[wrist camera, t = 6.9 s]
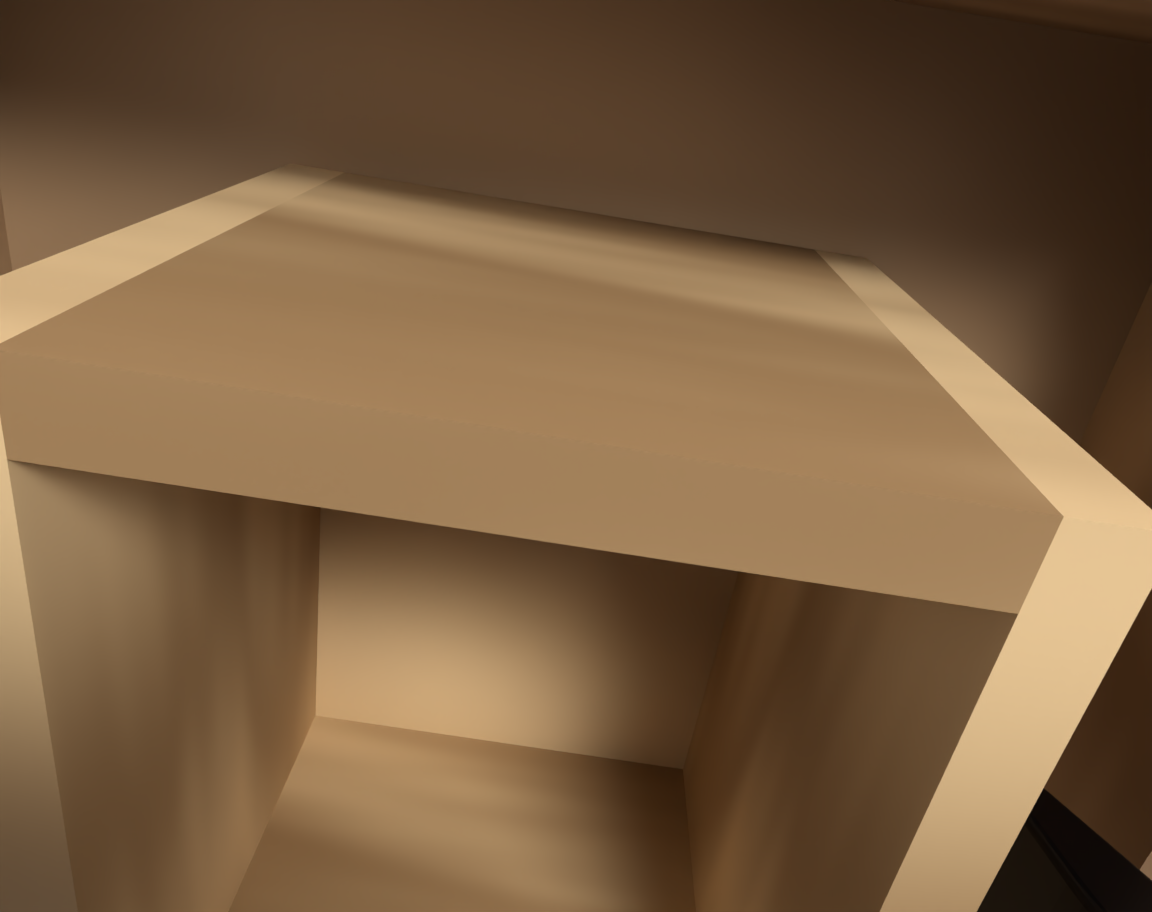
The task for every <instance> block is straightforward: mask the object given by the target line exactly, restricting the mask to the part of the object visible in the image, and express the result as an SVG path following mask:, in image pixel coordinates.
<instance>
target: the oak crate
mask: <svg viewBox="0 0 1152 912" xmlns="http://www.w3.org/2000/svg"><path fill="white" fill-rule="evenodd" d="M1151 589H1152V509H1151V508H1149V507H1148V506H1147V505H1146V504H1145V503H1144V502H1143V501H1142V500H1140V499H1139V498H1138V497H1137V496H1136V495H1135V494H1134V493H1132V492H1131V491H1130V490H1129V489H1128V488H1127V487H1126V486H1125V485H1123V484H1122V483H1121V482H1120V481H1119V480H1118V479H1117V478H1115V477H1114V476H1113V475H1112V474H1111V473H1110V472H1109V471H1108V470H1106V469H1105V468H1104V467H1103V466H1102V465H1101V464H1100V463H1098V462H1097V461H1096V460H1095V459H1094V458H1093V457H1092V456H1091V455H1089V454H1088V453H1087V452H1086V451H1085V450H1084V449H1083V448H1081V447H1080V446H1079V445H1078V444H1077V443H1076V442H1075V441H1074V440H1072V439H1071V438H1070V437H1069V436H1068V435H1067V434H1066V433H1064V432H1063V431H1062V430H1061V429H1060V428H1059V427H1058V426H1057V425H1055V424H1054V423H1053V422H1052V421H1051V420H1050V419H1049V418H1047V417H1046V416H1045V415H1044V414H1043V413H1042V412H1041V411H1040V410H1038V409H1037V408H1036V407H1035V406H1034V405H1033V404H1032V403H1030V402H1029V401H1028V400H1027V399H1026V398H1025V397H1024V396H1022V395H1021V394H1020V393H1019V392H1018V391H1017V390H1016V389H1015V388H1013V387H1012V386H1011V385H1010V384H1009V383H1008V382H1007V381H1005V380H1004V379H1003V378H1002V377H1001V376H1000V375H999V374H998V373H996V372H995V371H994V370H993V369H992V368H991V367H990V366H988V365H987V364H986V363H985V362H984V361H983V360H982V359H981V358H979V357H978V356H977V355H976V354H975V353H974V352H973V351H971V350H970V349H969V348H968V347H967V346H966V345H965V344H964V343H962V342H961V341H960V340H959V339H958V338H957V337H956V336H954V335H953V334H952V333H951V332H950V331H949V330H948V329H947V328H945V327H944V326H943V325H942V324H941V323H940V322H939V321H937V320H936V319H935V318H934V317H933V316H932V315H931V314H930V313H928V312H927V311H926V310H925V309H924V308H923V307H922V306H920V305H919V304H918V303H917V302H916V301H915V300H914V299H913V298H911V297H910V296H909V295H908V294H907V293H906V292H905V291H903V290H902V289H901V288H900V287H899V286H898V285H897V284H896V283H894V282H893V281H892V280H891V279H890V278H889V277H888V276H886V275H885V274H884V273H883V272H882V271H881V270H880V269H879V268H877V267H876V266H875V265H874V264H873V263H872V262H871V261H869V260H868V259H867V258H863V257H857V256H851V255H845V254H839V253H833V252H827V251H821V250H815V249H809V248H802V247H796V246H790V245H784V244H778V243H772V242H766V241H760V240H754V239H748V238H741V237H735V236H729V235H723V234H717V233H711V232H705V231H699V230H693V229H687V228H681V227H674V226H668V225H662V224H656V223H650V222H644V221H638V220H632V219H626V218H620V217H613V216H607V215H601V214H595V213H589V212H583V211H577V210H571V209H565V208H559V207H553V206H546V205H540V204H534V203H528V202H522V201H516V200H510V199H504V198H498V197H492V196H485V195H479V194H473V193H467V192H461V191H455V190H449V189H443V188H437V187H431V186H425V185H418V184H412V183H406V182H400V181H394V180H388V179H382V178H376V177H370V176H364V175H357V174H351V173H345V172H339V171H333V170H327V169H321V168H315V167H309V166H303V165H297V164H288V165H286V166H283V167H280V168H278V169H275V170H273V171H270V172H267V173H265V174H262V175H260V176H257V177H255V178H252V179H249V180H247V181H244V182H242V183H239V184H236V185H234V186H231V187H229V188H226V189H224V190H221V191H218V192H216V193H213V194H211V195H208V196H205V197H203V198H200V199H198V200H195V201H192V202H190V203H187V204H185V205H182V206H180V207H177V208H174V209H172V210H169V211H167V212H164V213H161V214H159V215H156V216H154V217H151V218H149V219H146V220H143V221H141V222H138V223H136V224H133V225H130V226H128V227H125V228H123V229H120V230H117V231H115V232H112V233H110V234H107V235H105V236H102V237H99V238H97V239H94V240H92V241H89V242H86V243H84V244H81V245H79V246H76V247H74V248H71V249H68V250H66V251H63V252H61V253H58V254H55V255H53V256H50V257H48V258H45V259H43V260H40V261H37V262H35V263H32V264H30V265H27V266H24V267H22V268H19V269H17V270H14V271H11V272H9V273H6V274H4V275H1V276H0V912H977V910H978V908H979V906H980V904H981V903H982V901H983V899H984V897H985V895H986V893H987V892H988V890H989V888H990V886H991V884H992V882H993V880H994V879H995V877H996V875H997V873H998V871H999V869H1000V868H1001V866H1002V864H1003V862H1004V860H1005V858H1006V856H1007V855H1008V853H1009V851H1010V849H1011V847H1012V845H1013V844H1014V842H1015V840H1016V838H1017V836H1018V834H1019V832H1020V831H1021V829H1022V827H1023V825H1024V823H1025V821H1026V820H1027V818H1028V816H1029V814H1030V812H1031V810H1032V808H1033V807H1034V805H1035V803H1036V801H1037V799H1038V797H1039V796H1040V794H1041V792H1042V790H1043V788H1044V786H1045V784H1046V783H1047V781H1048V779H1049V777H1050V775H1051V773H1052V772H1053V770H1054V768H1055V766H1056V764H1057V762H1058V760H1059V759H1060V757H1061V755H1062V753H1063V751H1064V749H1065V748H1066V746H1067V744H1068V742H1069V740H1070V738H1071V736H1072V735H1073V733H1074V731H1075V729H1076V727H1077V725H1078V724H1079V722H1080V720H1081V718H1082V716H1083V714H1084V712H1085V711H1086V709H1087V707H1088V705H1089V703H1090V701H1091V700H1092V698H1093V696H1094V694H1095V692H1096V690H1097V688H1098V687H1099V685H1100V683H1101V681H1102V679H1103V677H1104V676H1105V674H1106V672H1107V670H1108V668H1109V666H1110V664H1111V663H1112V661H1113V659H1114V657H1115V655H1116V653H1117V652H1118V650H1119V648H1120V646H1121V644H1122V642H1123V640H1124V639H1125V637H1126V635H1127V633H1128V631H1129V629H1130V628H1131V626H1132V624H1133V622H1134V620H1135V618H1136V616H1137V615H1138V613H1139V611H1140V609H1141V607H1142V605H1143V604H1144V602H1145V600H1146V598H1147V596H1148V594H1149V592H1150V591H1151Z"/></svg>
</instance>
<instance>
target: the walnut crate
mask: <svg viewBox="0 0 1152 912" xmlns="http://www.w3.org/2000/svg"><path fill="white" fill-rule="evenodd" d="M288 164H297V165H303V166H309V167H315V168H321V169H327V170H333V171H339V172H345V173H351V174H357V175H364V176H370V177H376V178H382V179H388V180H394V181H400V182H406V183H412V184H418V185H425V186H431V187H437V188H443V189H449V190H455V191H461V192H467V193H473V194H479V195H485V196H492V197H498V198H504V199H510V200H516V201H522V202H528V203H534V204H540V205H546V206H553V207H559V208H565V209H571V210H577V211H583V212H589V213H595V214H601V215H607V216H613V217H620V218H626V219H632V220H638V221H644V222H650V223H656V224H662V225H668V226H674V227H681V228H687V229H693V230H699V231H705V232H711V233H717V234H723V235H729V236H735V237H741V238H748V239H754V240H760V241H766V242H772V243H778V244H784V245H790V246H796V247H802V248H809V249H815V250H821V251H827V252H833V253H839V254H845V255H851V256H857V257H863V258H867V259H868V260H869V261H871V262H872V263H873V264H874V265H875V266H876V267H877V268H879V269H880V270H881V271H882V272H883V273H884V274H885V275H886V276H888V277H889V278H890V279H891V280H892V281H893V282H894V283H896V284H897V285H898V286H899V287H900V288H901V289H902V290H903V291H905V292H906V293H907V294H908V295H909V296H910V297H911V298H913V299H914V300H915V301H916V302H917V303H918V304H919V305H920V306H922V307H923V308H924V309H925V310H926V311H927V312H928V313H930V314H931V315H932V316H933V317H934V318H935V319H936V320H937V321H939V322H940V323H941V324H942V325H943V326H944V327H945V328H947V329H948V330H949V331H950V332H951V333H952V334H953V335H954V336H956V337H957V338H958V339H959V340H960V341H961V342H962V343H964V344H965V345H966V346H967V347H968V348H969V349H970V350H971V351H973V352H974V353H975V354H976V355H977V356H978V357H979V358H981V359H982V360H983V361H984V362H985V363H986V364H987V365H988V366H990V367H991V368H992V369H993V370H994V371H995V372H996V373H998V374H999V375H1000V376H1001V377H1002V378H1003V379H1004V380H1005V381H1007V382H1008V383H1009V384H1010V385H1011V386H1012V387H1013V388H1015V389H1016V390H1017V391H1018V392H1019V393H1020V394H1021V395H1022V396H1024V397H1025V398H1026V399H1027V400H1028V401H1029V402H1030V403H1032V404H1033V405H1034V406H1035V407H1036V408H1037V409H1038V410H1040V411H1041V412H1042V413H1043V414H1044V415H1045V416H1046V417H1047V418H1049V419H1050V420H1051V421H1052V422H1053V423H1054V424H1055V425H1057V426H1058V427H1059V428H1060V429H1061V430H1062V431H1063V432H1064V433H1066V434H1067V435H1068V436H1069V437H1070V438H1071V439H1072V440H1074V441H1075V442H1076V443H1077V444H1078V445H1079V446H1080V447H1081V448H1083V449H1084V450H1085V451H1086V452H1087V453H1088V454H1089V455H1091V456H1092V457H1093V458H1094V459H1095V460H1096V461H1097V462H1098V463H1100V464H1101V465H1102V466H1103V467H1104V468H1105V469H1106V470H1108V471H1109V472H1110V473H1111V474H1112V475H1113V476H1114V477H1115V478H1117V479H1118V480H1119V481H1120V482H1121V483H1122V484H1123V485H1125V486H1126V487H1127V488H1128V489H1129V490H1130V491H1131V492H1132V493H1134V494H1135V495H1136V496H1137V497H1138V498H1139V499H1140V500H1142V501H1143V502H1144V503H1145V504H1146V505H1147V506H1148V507H1149V508H1151V509H1152V0H0V276H1V275H4V274H6V273H9V272H11V271H14V270H17V269H19V268H22V267H24V266H27V265H30V264H32V263H35V262H37V261H40V260H43V259H45V258H48V257H50V256H53V255H55V254H58V253H61V252H63V251H66V250H68V249H71V248H74V247H76V246H79V245H81V244H84V243H86V242H89V241H92V240H94V239H97V238H99V237H102V236H105V235H107V234H110V233H112V232H115V231H117V230H120V229H123V228H125V227H128V226H130V225H133V224H136V223H138V222H141V221H143V220H146V219H149V218H151V217H154V216H156V215H159V214H161V213H164V212H167V211H169V210H172V209H174V208H177V207H180V206H182V205H185V204H187V203H190V202H192V201H195V200H198V199H200V198H203V197H205V196H208V195H211V194H213V193H216V192H218V191H221V190H224V189H226V188H229V187H231V186H234V185H236V184H239V183H242V182H244V181H247V180H249V179H252V178H255V177H257V176H260V175H262V174H265V173H267V172H270V171H273V170H275V169H278V168H280V167H283V166H286V165H288ZM1044 789H1045V790H1047V791H1048V792H1049V793H1050V794H1052V795H1053V796H1054V797H1055V798H1056V799H1057V800H1059V801H1060V802H1061V803H1062V804H1063V805H1064V806H1066V807H1067V808H1068V809H1069V810H1070V811H1071V812H1073V813H1074V814H1075V815H1076V816H1077V817H1078V818H1080V819H1081V820H1082V821H1083V822H1084V823H1086V824H1087V825H1088V826H1089V827H1090V828H1091V829H1093V830H1094V831H1095V832H1096V833H1097V834H1098V835H1100V836H1101V837H1102V838H1103V839H1104V840H1105V841H1107V842H1108V843H1109V844H1110V845H1111V846H1112V847H1114V848H1115V849H1116V850H1117V851H1118V852H1119V853H1121V854H1122V855H1123V856H1124V857H1125V858H1126V859H1128V860H1129V861H1130V862H1131V863H1132V864H1133V865H1135V866H1136V867H1137V868H1138V869H1139V870H1140V871H1142V872H1143V873H1144V874H1145V875H1146V876H1147V877H1149V878H1150V879H1151V880H1152V589H1151V591H1150V592H1149V594H1148V596H1147V598H1146V600H1145V602H1144V604H1143V605H1142V607H1141V609H1140V611H1139V613H1138V615H1137V616H1136V618H1135V620H1134V622H1133V624H1132V626H1131V628H1130V629H1129V631H1128V633H1127V635H1126V637H1125V639H1124V640H1123V642H1122V644H1121V646H1120V648H1119V650H1118V652H1117V653H1116V655H1115V657H1114V659H1113V661H1112V663H1111V664H1110V666H1109V668H1108V670H1107V672H1106V674H1105V676H1104V677H1103V679H1102V681H1101V683H1100V685H1099V687H1098V688H1097V690H1096V692H1095V694H1094V696H1093V698H1092V700H1091V701H1090V703H1089V705H1088V707H1087V709H1086V711H1085V712H1084V714H1083V716H1082V718H1081V720H1080V722H1079V724H1078V725H1077V727H1076V729H1075V731H1074V733H1073V735H1072V736H1071V738H1070V740H1069V742H1068V744H1067V746H1066V748H1065V749H1064V751H1063V753H1062V755H1061V757H1060V759H1059V760H1058V762H1057V764H1056V766H1055V768H1054V770H1053V772H1052V773H1051V775H1050V777H1049V779H1048V781H1047V783H1046V784H1045V786H1044Z"/></svg>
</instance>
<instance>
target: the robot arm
mask: <svg viewBox="0 0 1152 912" xmlns="http://www.w3.org/2000/svg"><path fill="white" fill-rule="evenodd" d="M977 912H1152V880H1151V879H1150V878H1149V877H1147V876H1146V875H1145V874H1144V873H1143V872H1142V871H1140V870H1139V869H1138V868H1137V867H1136V866H1135V865H1133V864H1132V863H1131V862H1130V861H1129V860H1128V859H1126V858H1125V857H1124V856H1123V855H1122V854H1121V853H1119V852H1118V851H1117V850H1116V849H1115V848H1114V847H1112V846H1111V845H1110V844H1109V843H1108V842H1107V841H1105V840H1104V839H1103V838H1102V837H1101V836H1100V835H1098V834H1097V833H1096V832H1095V831H1094V830H1093V829H1091V828H1090V827H1089V826H1088V825H1087V824H1086V823H1084V822H1083V821H1082V820H1081V819H1080V818H1078V817H1077V816H1076V815H1075V814H1074V813H1073V812H1071V811H1070V810H1069V809H1068V808H1067V807H1066V806H1064V805H1063V804H1062V803H1061V802H1060V801H1059V800H1057V799H1056V798H1055V797H1054V796H1053V795H1052V794H1050V793H1049V792H1048V791H1047V790H1045V789H1044V788H1043V790H1042V792H1041V794H1040V796H1039V797H1038V799H1037V801H1036V803H1035V805H1034V807H1033V808H1032V810H1031V812H1030V814H1029V816H1028V818H1027V820H1026V821H1025V823H1024V825H1023V827H1022V829H1021V831H1020V832H1019V834H1018V836H1017V838H1016V840H1015V842H1014V844H1013V845H1012V847H1011V849H1010V851H1009V853H1008V855H1007V856H1006V858H1005V860H1004V862H1003V864H1002V866H1001V868H1000V869H999V871H998V873H997V875H996V877H995V879H994V880H993V882H992V884H991V886H990V888H989V890H988V892H987V893H986V895H985V897H984V899H983V901H982V903H981V904H980V906H979V908H978V910H977Z"/></svg>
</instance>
